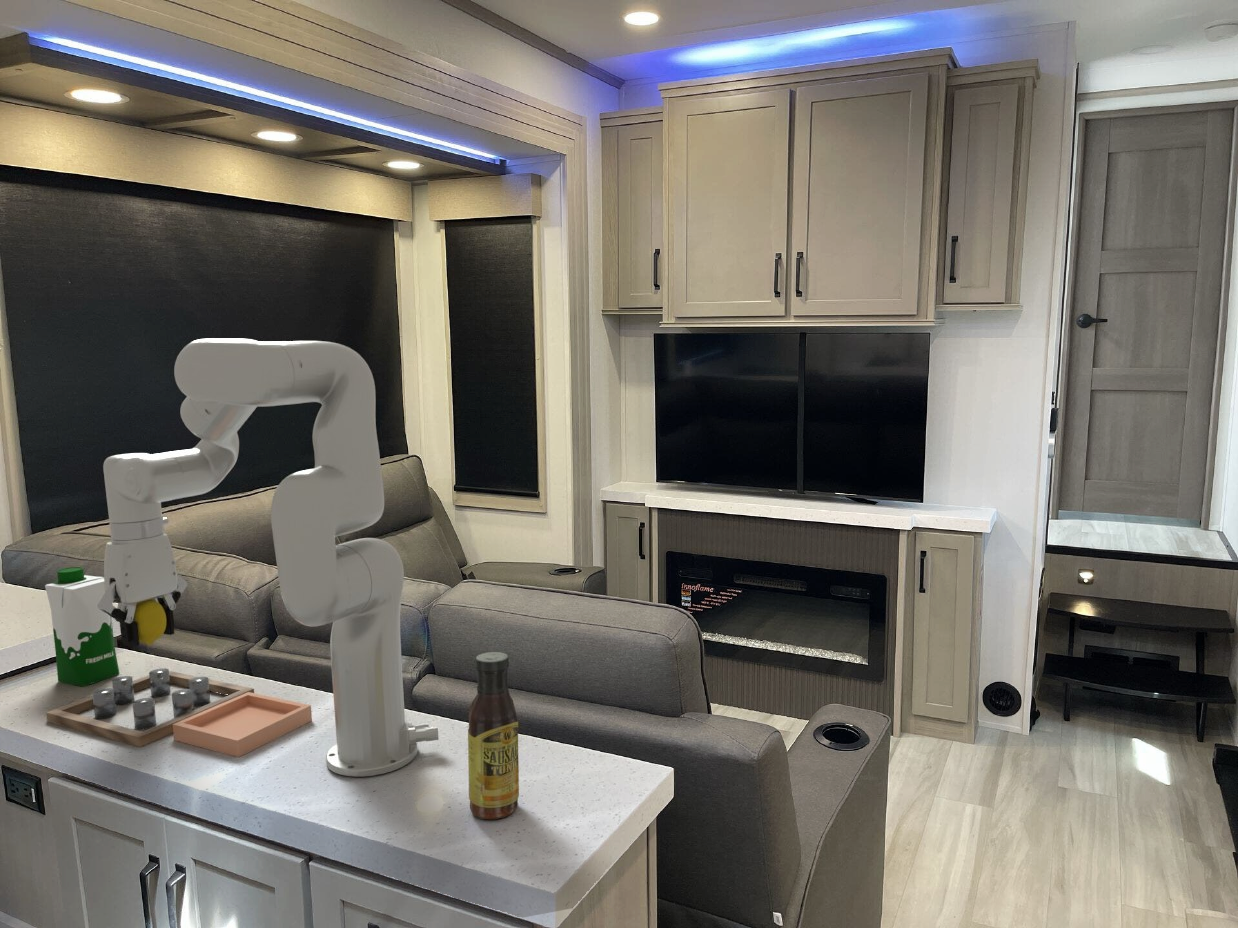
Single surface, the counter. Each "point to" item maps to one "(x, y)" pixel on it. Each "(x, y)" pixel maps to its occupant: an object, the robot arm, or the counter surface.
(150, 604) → the lemon
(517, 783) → the sauce bottle
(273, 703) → the dish
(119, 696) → the posts
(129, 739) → the frame
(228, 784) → the counter surface
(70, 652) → the milk carton
